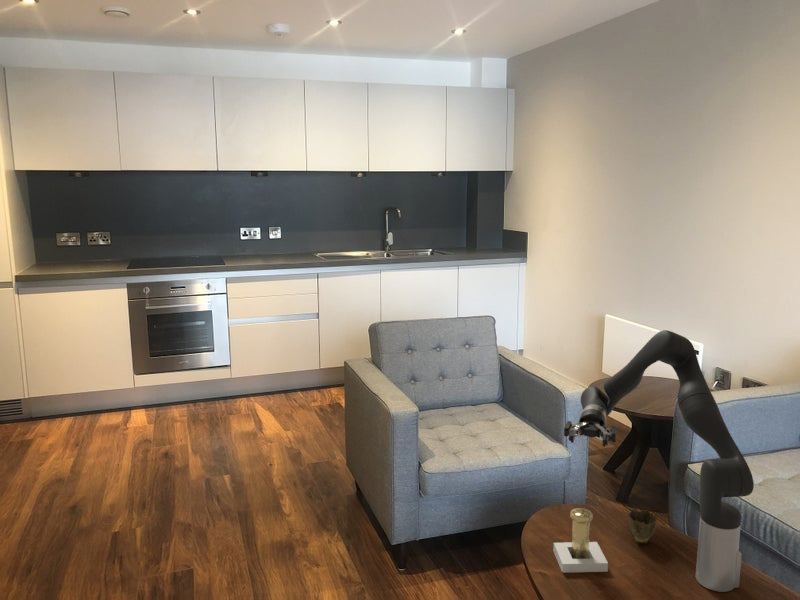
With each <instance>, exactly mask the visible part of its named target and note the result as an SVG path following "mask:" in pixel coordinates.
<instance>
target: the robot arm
mask: <svg viewBox="0 0 800 600" xmlns="http://www.w3.org/2000/svg"><path fill="white" fill-rule="evenodd" d="M657 362H661V363H664V364H667V365H669V366H671V367H672V368H673V370H674V372H675V374H676V376H677V379H678V381H679V389H678V392H677V396H676V398H677V399H676V401H677V406H678V409H679V411H680V413H681V416H682V418H683V421H684V423H685V425H686V426H687V427H688V428H689V429H690V430H691V431H692V432H693V433H694V434H695V435H697V436H698V437H700V438H701V439H702V440H703V441H704V442H706V443H707V444H708V445H709V446H710V447H711V448H712V449H713V450H714V451H715V452H716V454H717V456H718V457H719V458H709V459H705V460H704V461H703V462H702V464H701V467H700V473H699V510H700V515H699V516H700V517H699V527H698V541H697V553H696V555H697V556H696V564H695V565H696V567H695V579H696V581H697V582H698V583H699V584H700V585H701V587H702V586H703V587H704V588H706V589H708V590H710V591H714V592H719V593H725V592H730V591H731V592H732V590H734V589H736V588H737V589H738V588H740V579H741V578H740V577H741V576H740V575H741V567H742V555H743V554H742V552H741V551H740V550H739V549H740V547H739V546H740V537H741V526H742V525H741V523H742V513H741V512H740V510H739V509H738V508H737V507H735V506H734V505H733V504H729V503H728V502H724V501H723V500H722V499H723V498H739V497H740V498H741V497H742V498H743V497H748V496H750V495H751V494H752V493H753V490H754V486H755V485H754V479H753V478H754V477H753V474H752V472H751V469H750V467H749V464H748V463H747V461H746V459H745V457H744V456H743V454H742V452H741V450H740V448H739V447H738V445H737V444H736V442H735V440H734V439H733V437H732V435H731V433H730V431H729V428H728V426H727V425H726V421H725V420H724V417H723V416H722V413H721V410H720V409H719V407H718V404H717V402H716V399H715V398H714V395H713V394H712V391H711V390H710V388H709V385H708V382H707V380H706V378H705V376H704V374H703V372H702V369H701V366H700V363H699V360H698V356H697V354H696V350H695V346H694V345H693V343H692V342H691V341H690V340H689V339H688V338H687V337H685V336H683V335H680V334H678V333H676V332H674V331H671V330H665V329H663V330H660V331H659V332H657V333H655V334H654V335H653V336H652V337H651V338H650V339H649V340H648V341H647V342H646V343H645V344H644V345H643V347H642V348H641V349H640V350H639V351H638V352H637V353H636V354H635V356H634V357H632V358H631V360H630V361H629V362H628V363H627V364H626V365H625V366H624V367H623V368H622V369H620V370H619V371H617V372H616V373H615V374H614V375H612V376H611V377H609V378H608V379H607V380H606V381H605V382H604V383H603V389H604V391H602V389H601V388H599V387H598V386H595V385H594V386H593V385H592V386H591V385H590V386H588V387H586V388H585V389H584V390H583V391H582V393H581V396H580V405H581V408H582V411H581V413H580V417H579V421H578V422H577V423H576V424H574V423H572V421H571V420H569V421H568V420H567V421H566V424H565V425H564V427H563V437H568V441H570V443H574V442H575V438H578V439H579V438H583V437H588V438H596V439H598V440H599V441H602V447H603V448H604V447H606V446H608V445H609V442H611V443H616V442H617V426H611V427H609V428H608V427H606V426H607V425H606V424H607V417H608V416H610V414H611V413H612V412H613V410H614V408H615V407H616V405H617V404H618V403H619V402H620V400H621V401H622V399H623V398H624V397H626V396H627V395H629V394H630V393H631V392H632V391H634V390H635V389H636V388H637V387H638V386H639V384H640V383H641V381H642V379H643V375H644V373H645V371H646V370H647V369H648V368H649V367H650V366H651V365H653V364H655V363H657Z"/></svg>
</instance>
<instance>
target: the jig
mask: <svg viewBox="0 0 800 600" xmlns="http://www.w3.org/2000/svg"><path fill="white" fill-rule="evenodd" d="M553 554H554V556H555V558H556V561H557V563H558V565H559V568H560V570H561V573H562V572H563V573H564V574H565V573H567V574H568V573H598V572H599V573H603V572H607V573H608V571H609V563H608V560H607V558H606V556H605V554H604V553H603V550H602V549H601V547H600V545H599V544H598V542H597V541H589V554H588V559H572V541H571V542H570V541H569V542H568V541H567V542H565V541H564V542H553Z"/></svg>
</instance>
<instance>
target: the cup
mask: <svg viewBox="0 0 800 600" xmlns="http://www.w3.org/2000/svg"><path fill="white" fill-rule="evenodd" d="M657 519H658V516H656V514H654V513H653V512H650V511H649V509H646V510H644V509H640V511H637V509H631V510H630V511H629V513H628V520H629V529H630V532H631V534H632V535H633V536H634V540H635V541H636V542H637V543H639V544H647V543H648V541H649V539H650V538H652V536H653V535H654V533H655V529H656V525H657Z"/></svg>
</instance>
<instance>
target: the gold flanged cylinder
mask: <svg viewBox="0 0 800 600" xmlns="http://www.w3.org/2000/svg"><path fill="white" fill-rule="evenodd" d="M569 514H570V519H571V520H572V530H571V531H572V533H571V535H572V536H571V542H572V555H571V557H572V559H589V557H588V554H589V542H590V527H591V524H590V523H591V522H592V521H593V519H594V514H593V512H592V511H591V510H589V509H587V508H582V507H581V508H580V507H576V508H573V509H571V510H570V513H569Z"/></svg>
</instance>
